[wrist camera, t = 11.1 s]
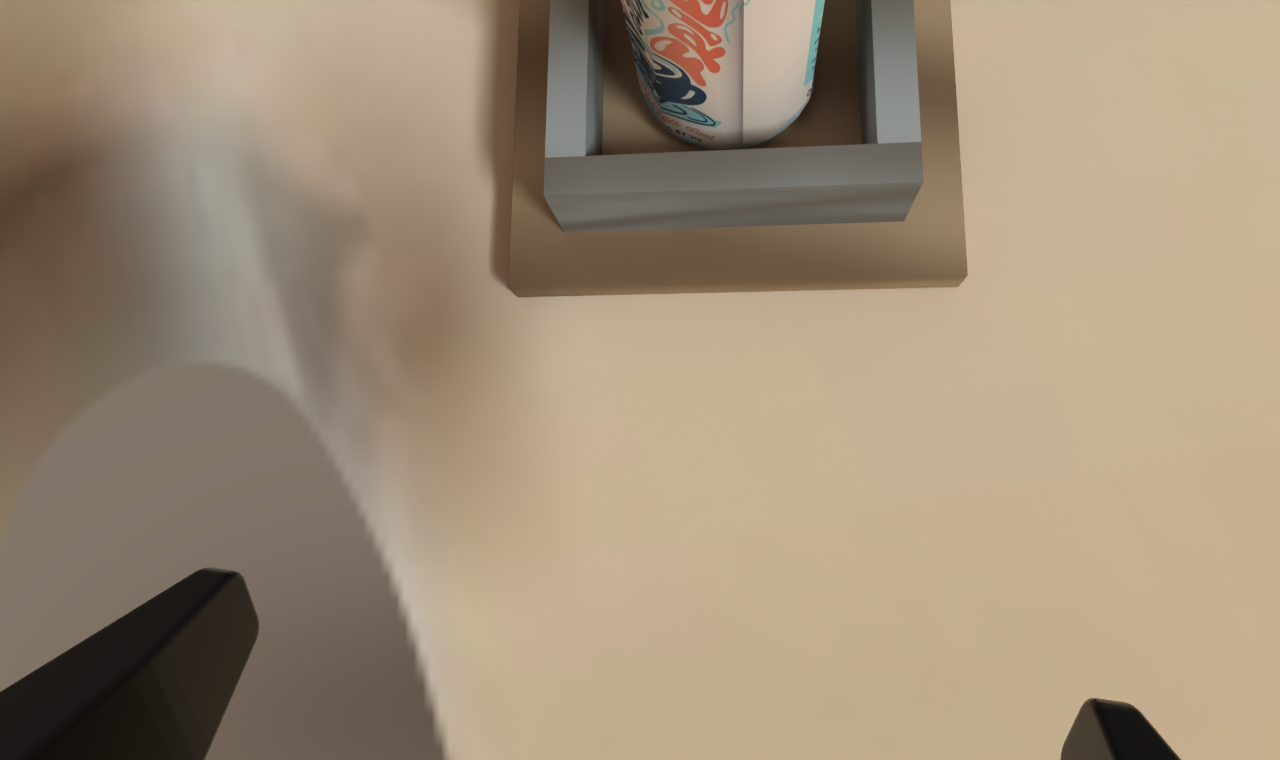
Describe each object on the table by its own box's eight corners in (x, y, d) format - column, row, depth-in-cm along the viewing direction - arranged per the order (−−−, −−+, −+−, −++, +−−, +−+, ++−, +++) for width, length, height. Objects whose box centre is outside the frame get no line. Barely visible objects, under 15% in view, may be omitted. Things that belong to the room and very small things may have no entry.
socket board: (957, 286, 23) (994, 241, 20) (517, 296, 25) (481, 256, 21) (934, -108, 25) (963, -210, 22) (532, -78, 27) (501, -170, 23)
